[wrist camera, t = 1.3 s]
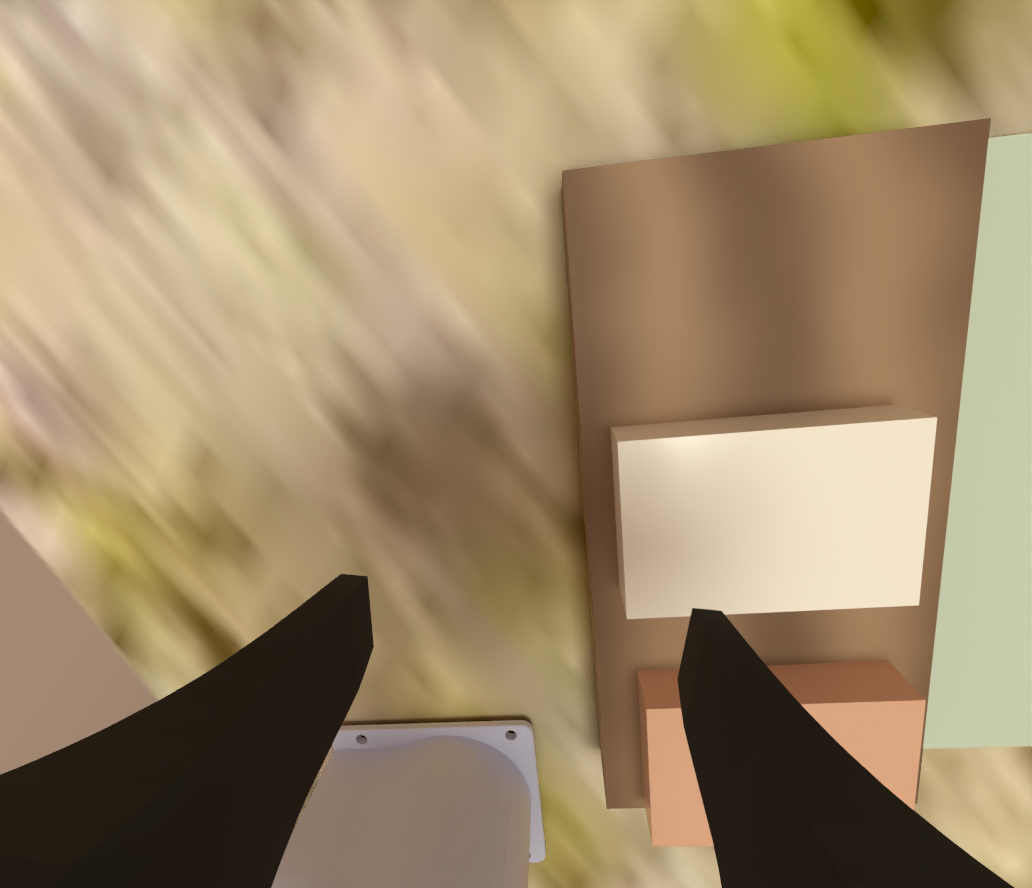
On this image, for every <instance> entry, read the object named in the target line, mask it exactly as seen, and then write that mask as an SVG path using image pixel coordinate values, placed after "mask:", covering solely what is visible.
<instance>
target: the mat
mask: <svg viewBox="0 0 1032 888" xmlns="http://www.w3.org/2000/svg"><path fill="white" fill-rule="evenodd" d="M1014 746H1032V133H1026V134H1018V135H1010V136H1001V137H993V138H989V139H988V148H987V157H986V167H985V176H984V185H983V195H982V204H981V213H980V222H979V232H978V241H977V250H976V260H975V269H974V278H973V287H972V297H971V306H970V315H969V325H968V334H967V343H966V353H965V362H964V371H963V380H962V390H961V399H960V408H959V418H958V427H957V436H956V446H955V455H954V464H953V473H952V483H951V492H950V501H949V511H948V520H947V529H946V538H945V548H944V557H943V566H942V576H941V585H940V594H939V604H938V613H937V622H936V631H935V641H934V650H933V659H932V669H931V678H930V687H929V697H928V706H927V715H926V724H925V734H924V743H923V749H934V748H974V747H1014Z"/></svg>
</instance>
